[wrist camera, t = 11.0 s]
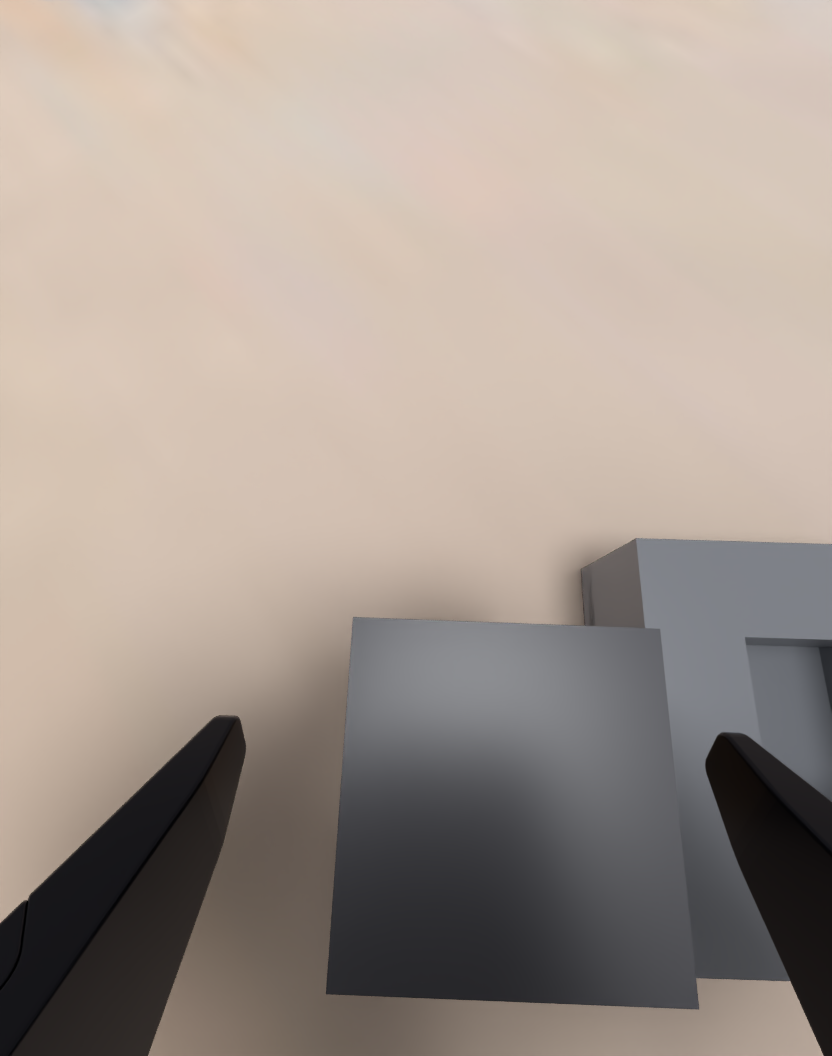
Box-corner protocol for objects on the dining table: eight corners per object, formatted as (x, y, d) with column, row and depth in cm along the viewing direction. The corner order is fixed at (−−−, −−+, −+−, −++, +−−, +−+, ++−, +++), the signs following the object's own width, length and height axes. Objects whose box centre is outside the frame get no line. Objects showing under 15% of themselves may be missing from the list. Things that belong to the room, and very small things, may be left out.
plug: (507, 778, 16) (704, 1015, 5) (382, 773, 16) (320, 999, 5) (505, 649, 17) (663, 625, 6) (389, 645, 17) (349, 612, 6)
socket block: (924, 896, 15) (1134, 991, 10) (602, 886, 15) (680, 977, 10) (852, 577, 18) (996, 549, 13) (581, 569, 18) (636, 538, 13)
